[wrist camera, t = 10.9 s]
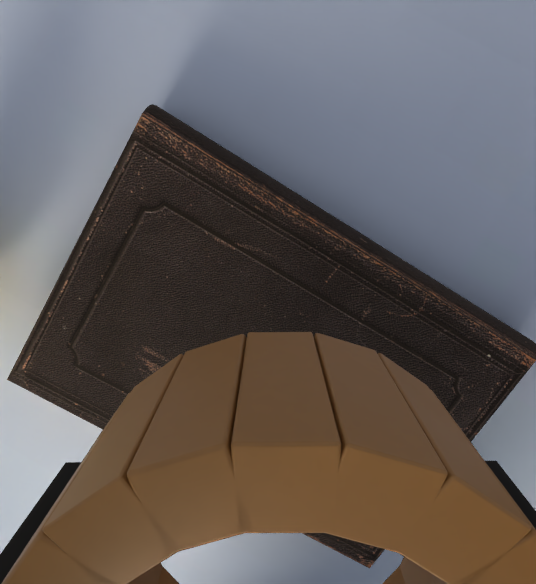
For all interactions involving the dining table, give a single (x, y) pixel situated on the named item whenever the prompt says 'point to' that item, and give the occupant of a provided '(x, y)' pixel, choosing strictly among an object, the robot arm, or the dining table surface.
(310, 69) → the dining table surface
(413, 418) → the brown wooden open cylinder
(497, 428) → the dining table surface
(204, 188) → the hardcover book
